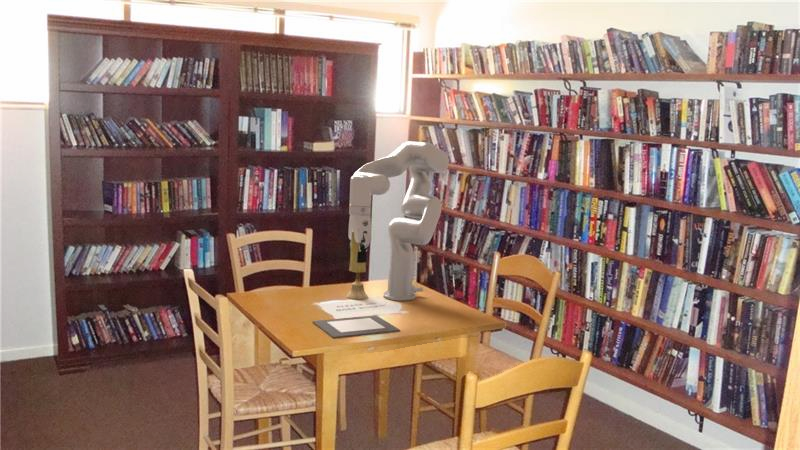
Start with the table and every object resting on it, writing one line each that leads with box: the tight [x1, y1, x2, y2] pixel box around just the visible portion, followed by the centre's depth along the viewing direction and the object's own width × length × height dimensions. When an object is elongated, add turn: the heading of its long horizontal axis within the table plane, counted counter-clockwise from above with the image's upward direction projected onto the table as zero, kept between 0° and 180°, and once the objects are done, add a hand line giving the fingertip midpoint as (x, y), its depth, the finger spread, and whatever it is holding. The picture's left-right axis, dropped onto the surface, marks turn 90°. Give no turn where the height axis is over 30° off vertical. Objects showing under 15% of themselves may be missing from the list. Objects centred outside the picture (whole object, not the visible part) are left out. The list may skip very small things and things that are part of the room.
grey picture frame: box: [312, 314, 401, 339], centre depth 245 cm, size 24×18×1 cm
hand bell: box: [346, 272, 369, 300], centre depth 283 cm, size 8×8×16 cm
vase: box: [348, 231, 367, 273], centre depth 259 cm, size 6×6×14 cm
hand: (357, 260), depth 260 cm, fingers closed on vase, 5 cm apart
